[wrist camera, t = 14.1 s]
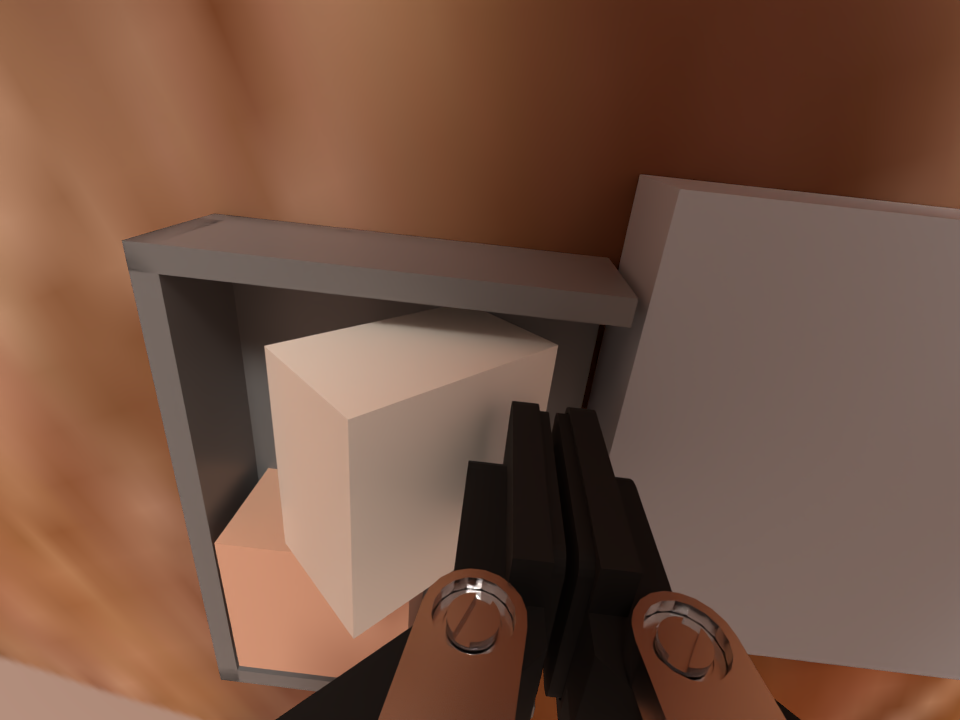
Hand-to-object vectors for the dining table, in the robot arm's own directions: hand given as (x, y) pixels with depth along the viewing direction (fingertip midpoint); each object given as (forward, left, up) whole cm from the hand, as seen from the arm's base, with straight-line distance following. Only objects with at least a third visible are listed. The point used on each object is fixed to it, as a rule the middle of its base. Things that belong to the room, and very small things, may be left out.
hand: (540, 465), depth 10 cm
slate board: (0, +8, -4) cm, 9 cm away
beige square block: (0, -2, 0) cm, 2 cm away
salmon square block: (+6, -5, 0) cm, 8 cm away
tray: (+3, -4, -4) cm, 6 cm away
